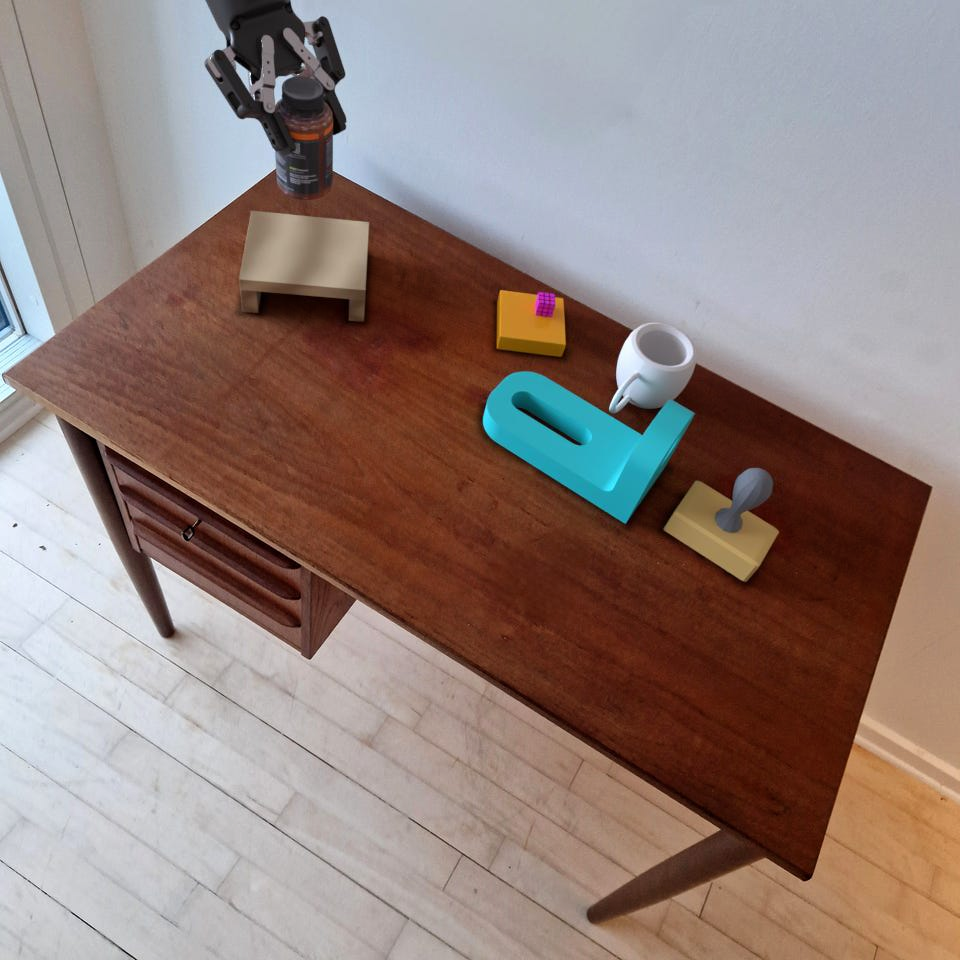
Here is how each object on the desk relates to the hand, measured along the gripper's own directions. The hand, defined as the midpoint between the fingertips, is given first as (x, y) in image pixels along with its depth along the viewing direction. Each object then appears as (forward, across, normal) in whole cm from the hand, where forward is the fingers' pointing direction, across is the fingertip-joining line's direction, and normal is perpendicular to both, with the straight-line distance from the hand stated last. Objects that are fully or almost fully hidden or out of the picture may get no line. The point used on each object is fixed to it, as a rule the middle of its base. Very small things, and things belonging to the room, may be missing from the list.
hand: (314, 141), depth 85 cm
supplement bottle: (+3, 0, +6) cm, 7 cm away
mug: (+40, +18, -12) cm, 45 cm away
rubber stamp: (+52, +9, -24) cm, 58 cm away
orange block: (+29, +16, -1) cm, 33 cm away
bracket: (+39, +6, -11) cm, 41 cm away
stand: (+13, 0, +15) cm, 20 cm away
